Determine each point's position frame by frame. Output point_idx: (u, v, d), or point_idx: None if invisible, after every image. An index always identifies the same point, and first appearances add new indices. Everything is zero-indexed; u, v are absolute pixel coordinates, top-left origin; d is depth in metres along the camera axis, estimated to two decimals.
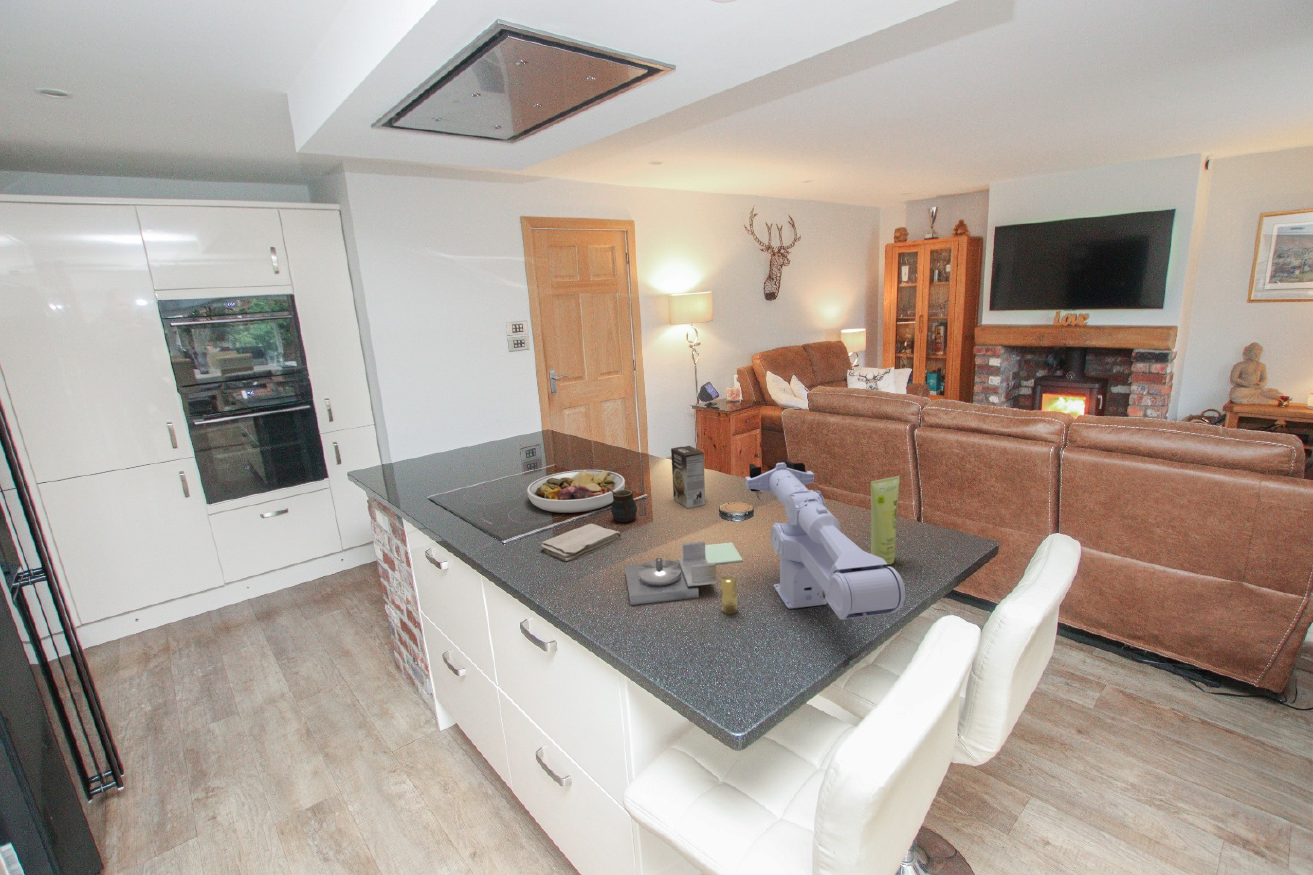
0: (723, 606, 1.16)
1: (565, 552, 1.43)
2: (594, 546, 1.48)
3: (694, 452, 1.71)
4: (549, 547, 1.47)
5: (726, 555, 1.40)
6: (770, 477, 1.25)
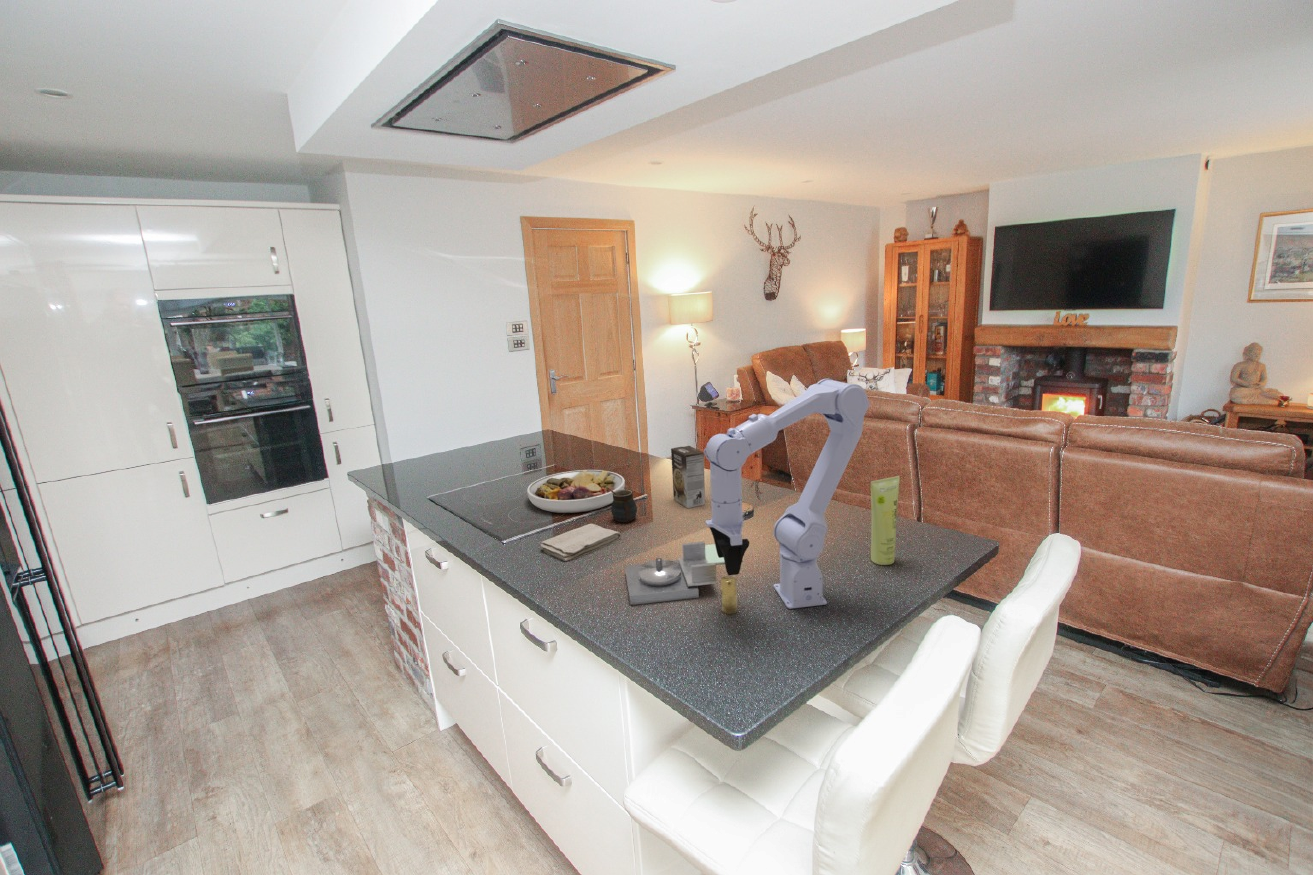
0: (723, 606, 1.16)
1: (564, 552, 1.43)
2: (593, 546, 1.48)
3: (694, 452, 1.71)
4: (548, 547, 1.47)
5: None
6: (723, 523, 1.10)
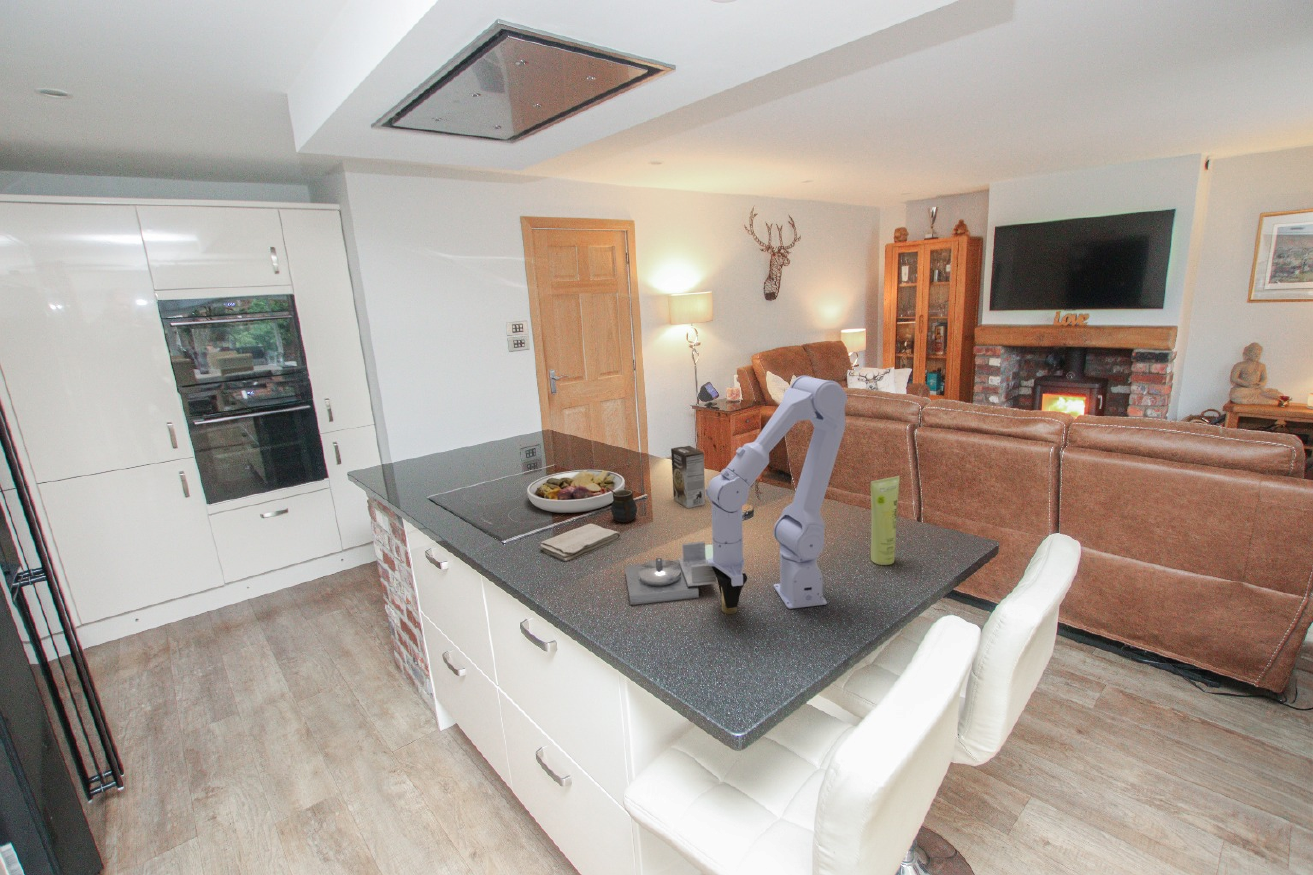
0: (723, 606, 1.16)
1: (564, 552, 1.43)
2: (593, 546, 1.48)
3: (694, 452, 1.71)
4: (548, 547, 1.47)
5: None
6: (724, 563, 1.12)
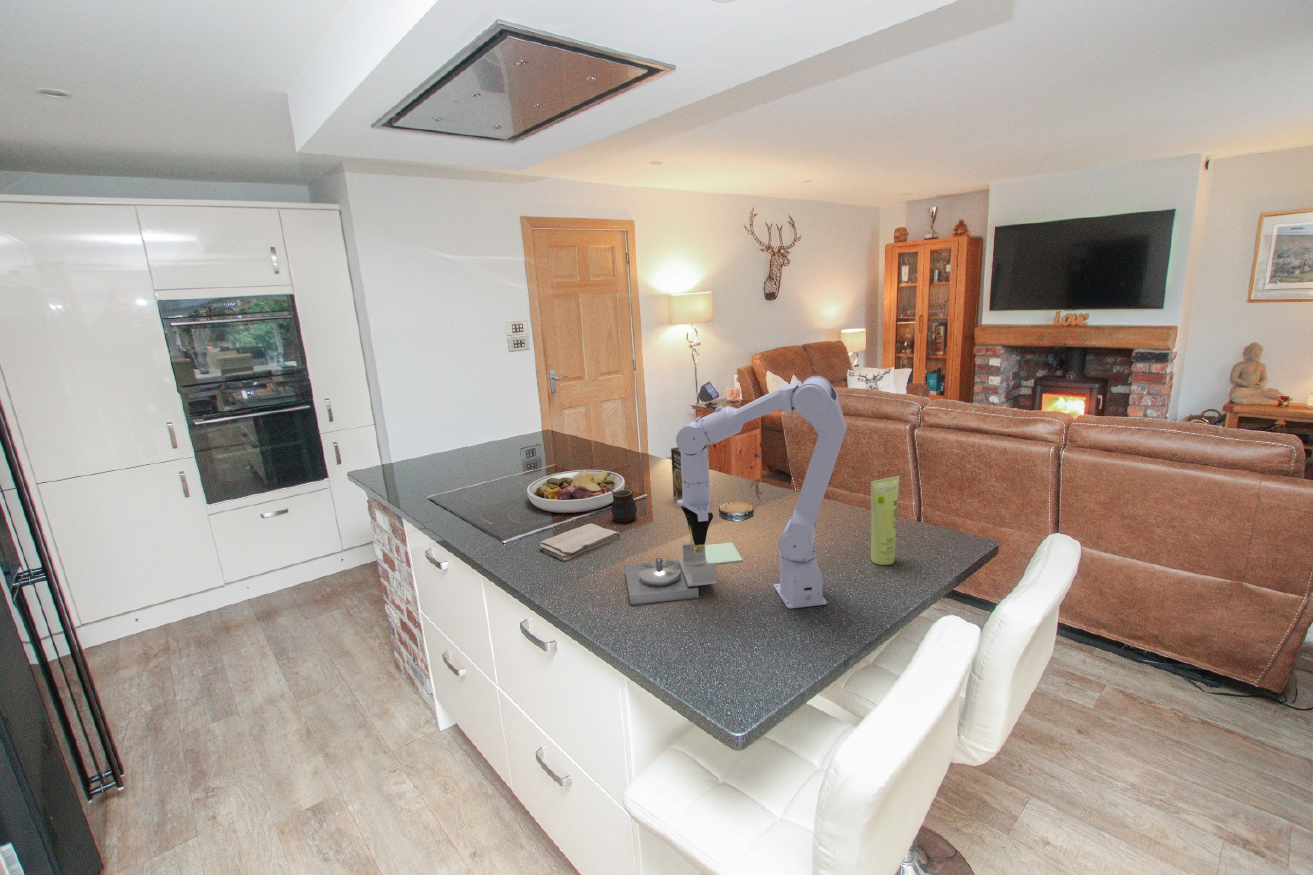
0: (691, 545, 1.26)
1: (563, 552, 1.43)
2: (592, 546, 1.48)
3: None
4: (548, 547, 1.48)
5: (726, 555, 1.40)
6: (692, 502, 1.22)
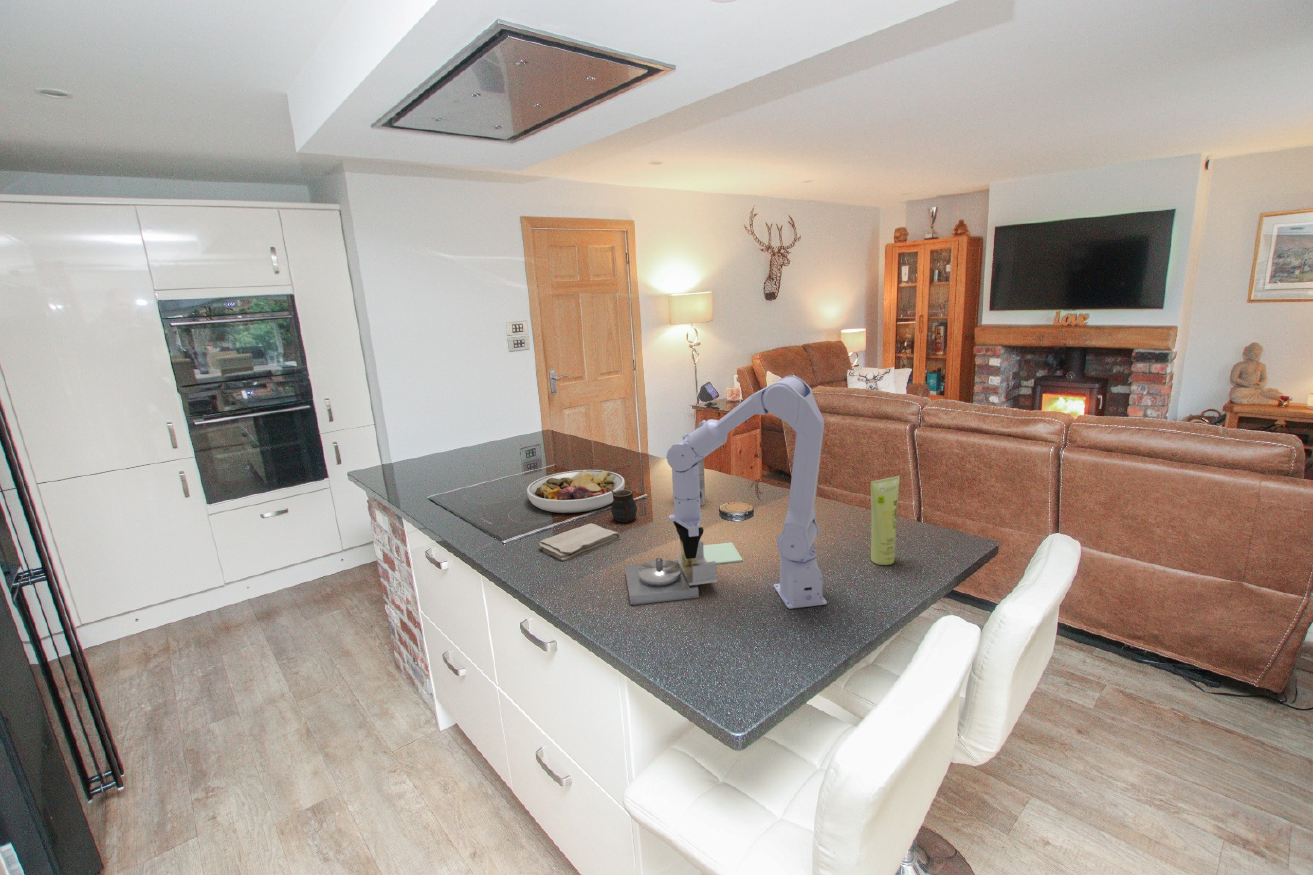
0: (683, 559, 1.30)
1: (561, 552, 1.43)
2: (591, 546, 1.48)
3: None
4: (547, 546, 1.48)
5: (726, 555, 1.40)
6: (683, 517, 1.26)
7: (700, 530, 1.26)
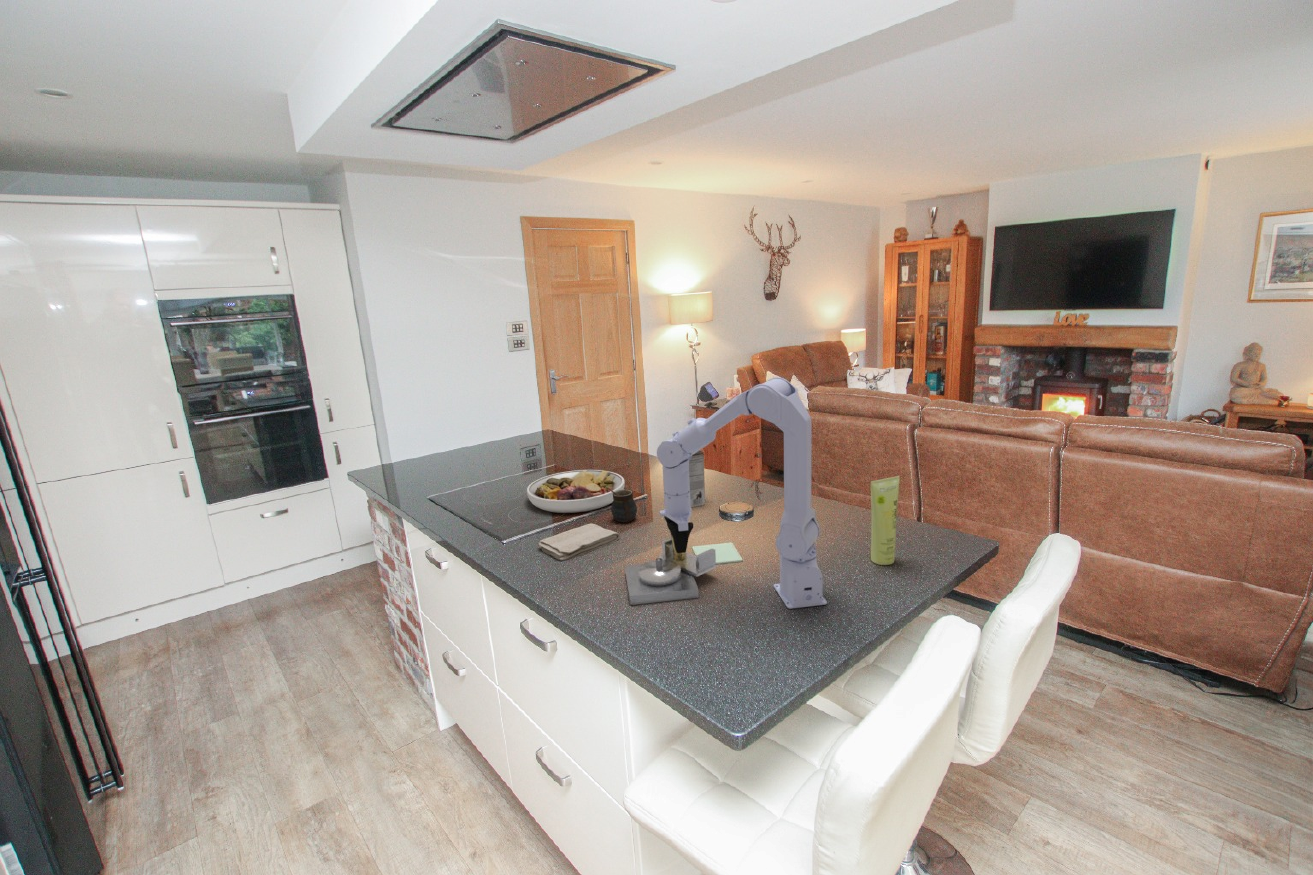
0: (673, 553, 1.33)
1: (560, 552, 1.44)
2: (590, 546, 1.48)
3: None
4: (546, 546, 1.48)
5: (726, 555, 1.40)
6: (673, 512, 1.29)
7: (690, 525, 1.29)
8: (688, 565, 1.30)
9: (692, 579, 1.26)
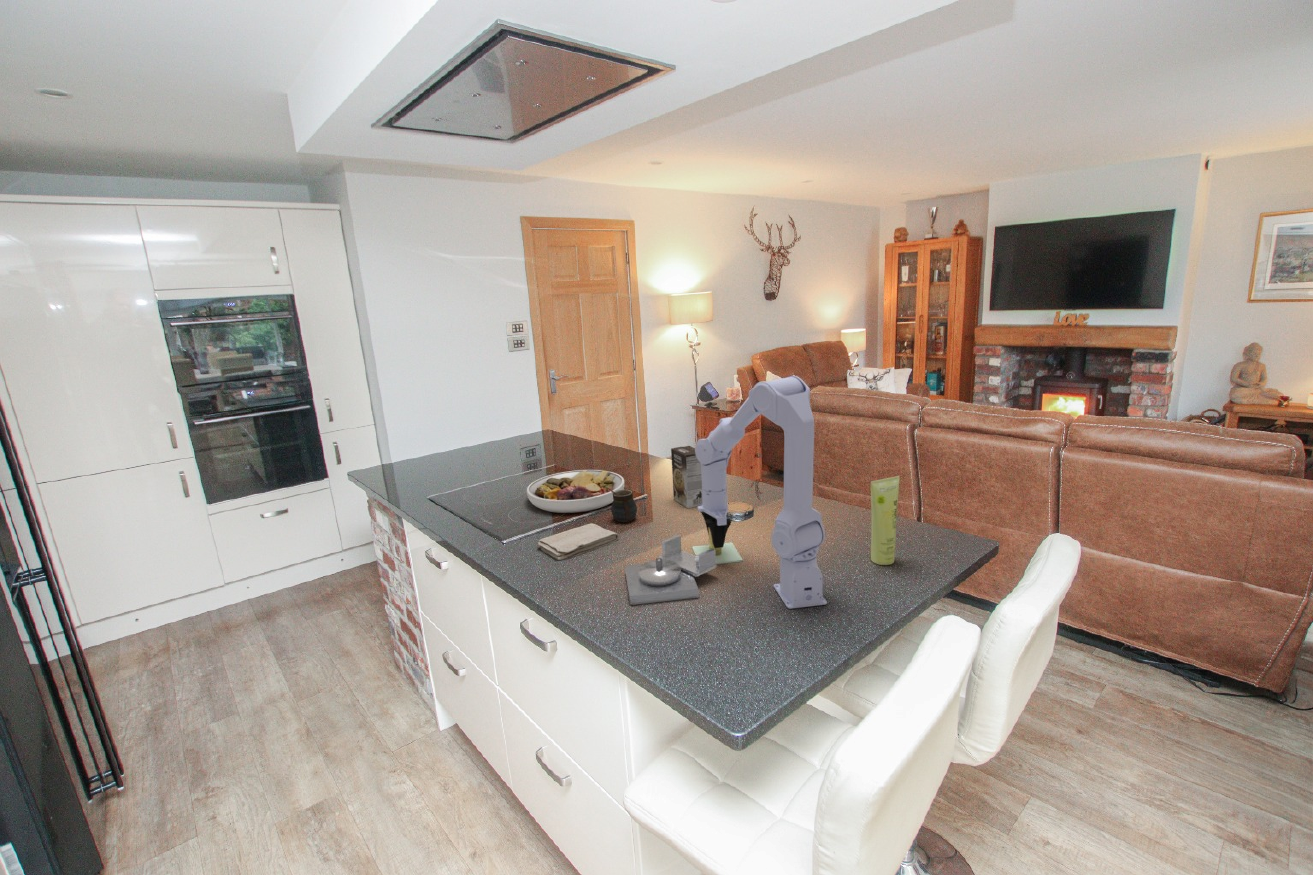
0: None
1: (558, 551, 1.44)
2: (589, 546, 1.48)
3: (694, 452, 1.71)
4: (545, 545, 1.49)
5: (726, 555, 1.40)
6: (711, 508, 1.36)
7: (728, 521, 1.35)
8: (688, 565, 1.30)
9: (692, 579, 1.26)
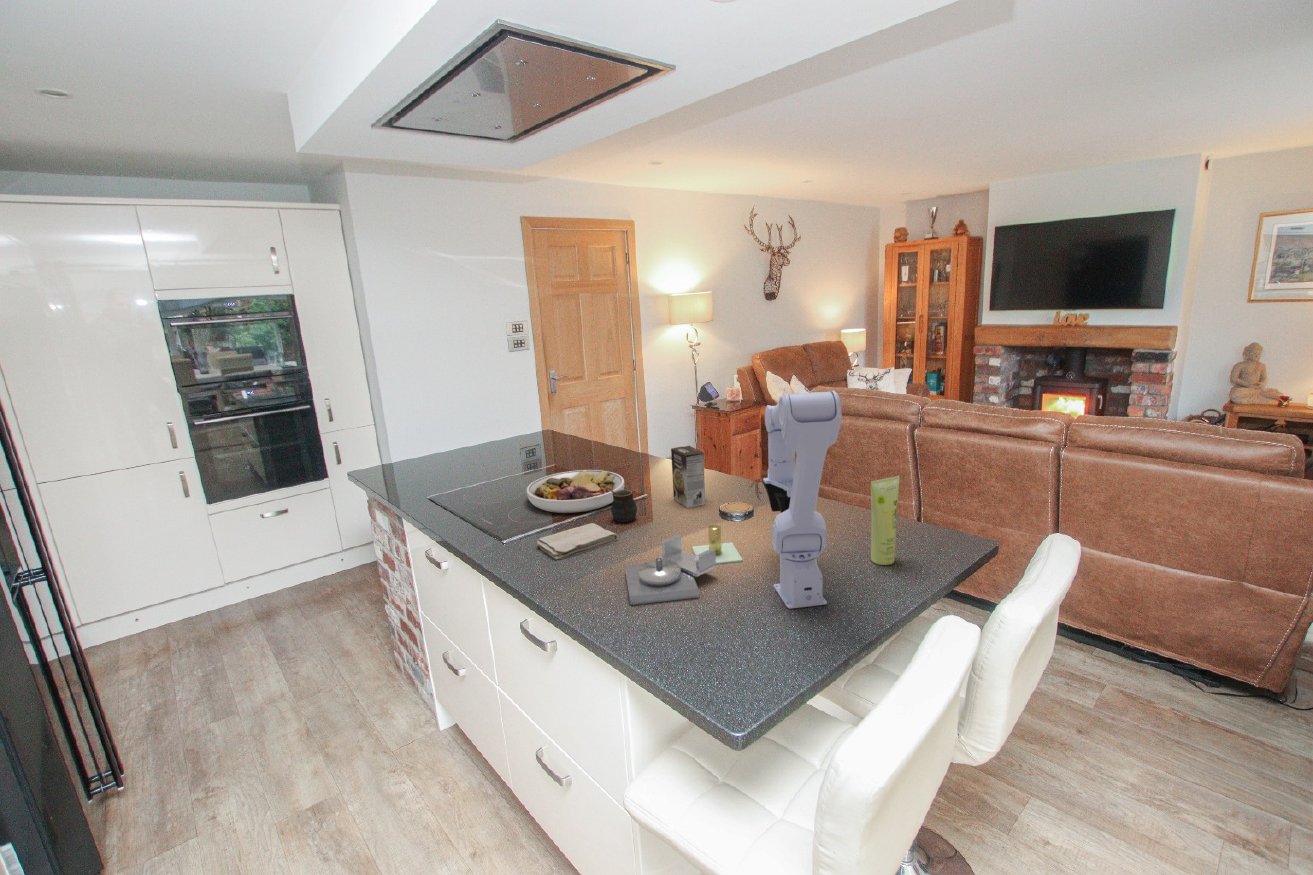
0: None
1: (555, 551, 1.44)
2: (587, 546, 1.48)
3: (694, 452, 1.71)
4: (543, 544, 1.49)
5: (726, 555, 1.40)
6: (779, 479, 1.30)
7: None
8: (688, 565, 1.30)
9: (692, 579, 1.26)
